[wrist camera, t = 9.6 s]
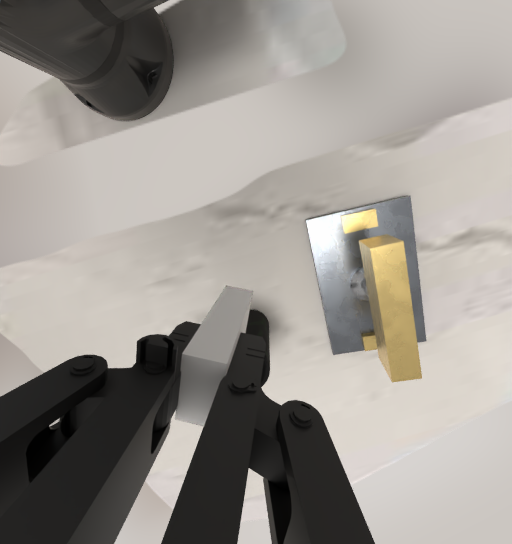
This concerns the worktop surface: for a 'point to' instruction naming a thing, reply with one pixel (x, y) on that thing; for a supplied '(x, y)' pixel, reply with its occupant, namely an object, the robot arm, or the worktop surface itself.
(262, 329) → the cup
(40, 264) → the worktop surface
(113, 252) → the worktop surface
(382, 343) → the flat gold bar
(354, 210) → the plate
